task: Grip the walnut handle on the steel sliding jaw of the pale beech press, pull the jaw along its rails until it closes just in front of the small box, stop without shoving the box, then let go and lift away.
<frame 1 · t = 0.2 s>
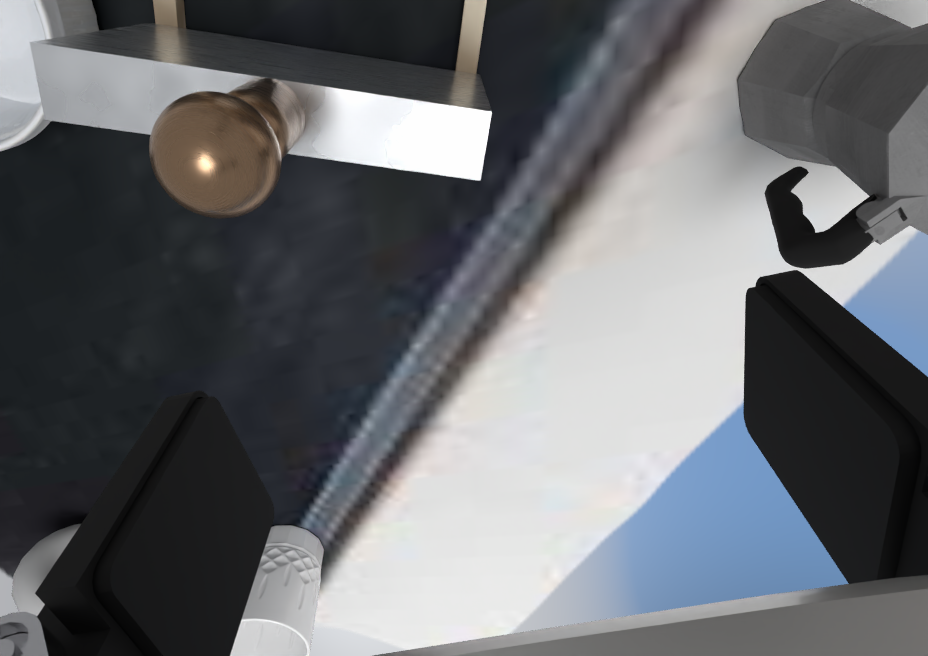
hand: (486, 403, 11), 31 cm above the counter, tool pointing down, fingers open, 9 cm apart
light grey round disc: (113, 525, 56), on the counter
white cup: (289, 546, 58), on the counter
sliding jaw: (276, 110, 26), point 11 cm above the counter, slide at 0.0 cm
coffeepot: (791, 93, 38), on the counter
ramekin: (2, 9, 34), on the counter
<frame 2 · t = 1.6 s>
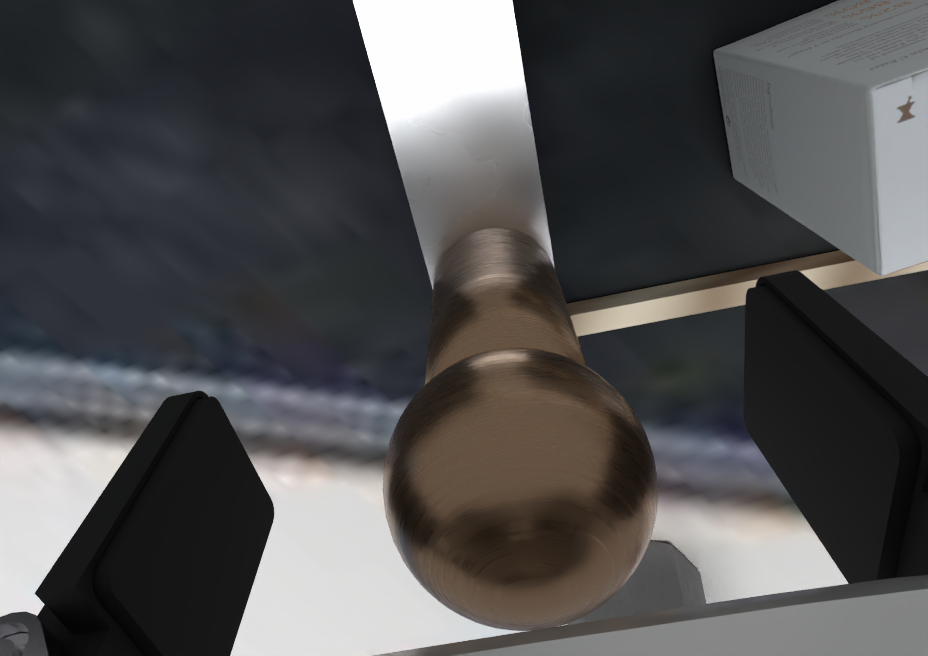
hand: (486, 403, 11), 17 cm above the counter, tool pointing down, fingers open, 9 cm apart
small box: (817, 78, 24), resting in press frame
sliding jaw: (492, 266, 16), point 11 cm above the counter, slide at 0.0 cm
coffeepot: (613, 576, 40), on the counter
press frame: (718, 102, 25), on the counter
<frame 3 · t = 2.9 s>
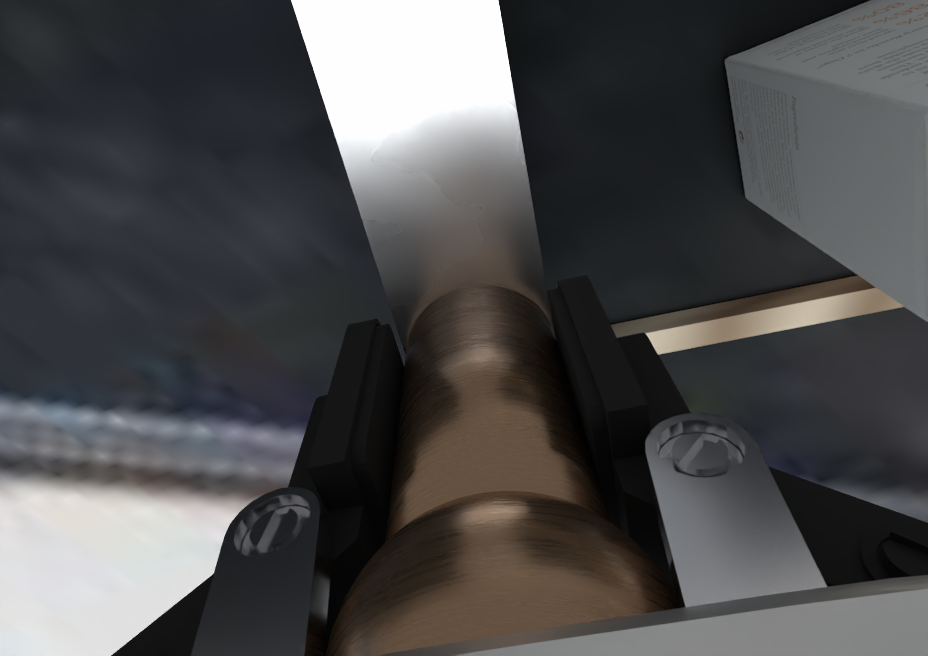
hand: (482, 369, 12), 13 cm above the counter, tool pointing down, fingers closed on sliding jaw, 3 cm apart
small box: (838, 89, 22), resting in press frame
sliding jaw: (478, 322, 13), point 11 cm above the counter, slide at 0.0 cm, touching gripper
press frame: (730, 115, 22), on the counter
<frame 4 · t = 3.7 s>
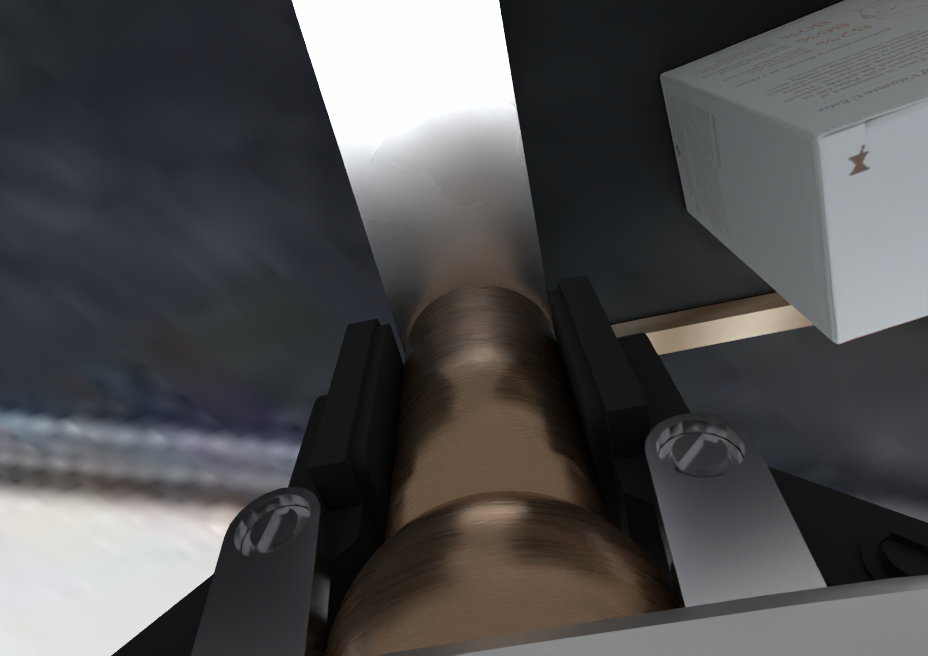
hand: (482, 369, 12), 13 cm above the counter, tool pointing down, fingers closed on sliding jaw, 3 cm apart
small box: (775, 104, 22), resting in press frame
sliding jaw: (478, 322, 13), point 11 cm above the counter, slide at 2.3 cm, touching gripper
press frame: (668, 130, 22), on the counter
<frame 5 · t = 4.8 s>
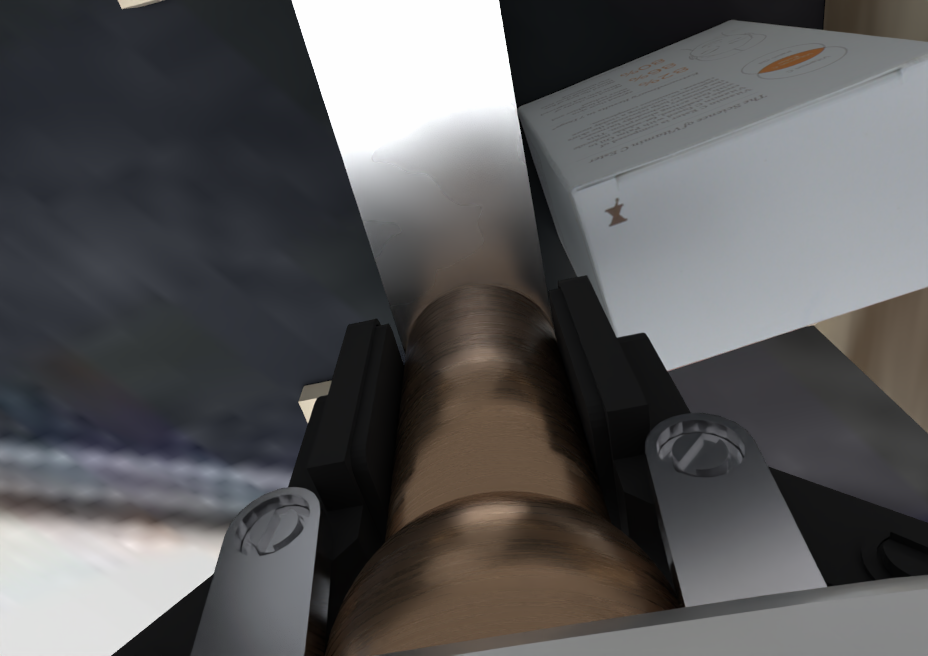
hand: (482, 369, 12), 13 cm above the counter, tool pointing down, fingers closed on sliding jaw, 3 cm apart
small box: (637, 135, 23), resting in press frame
sliding jaw: (478, 322, 13), point 11 cm above the counter, slide at 7.4 cm, touching gripper
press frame: (533, 160, 23), on the counter
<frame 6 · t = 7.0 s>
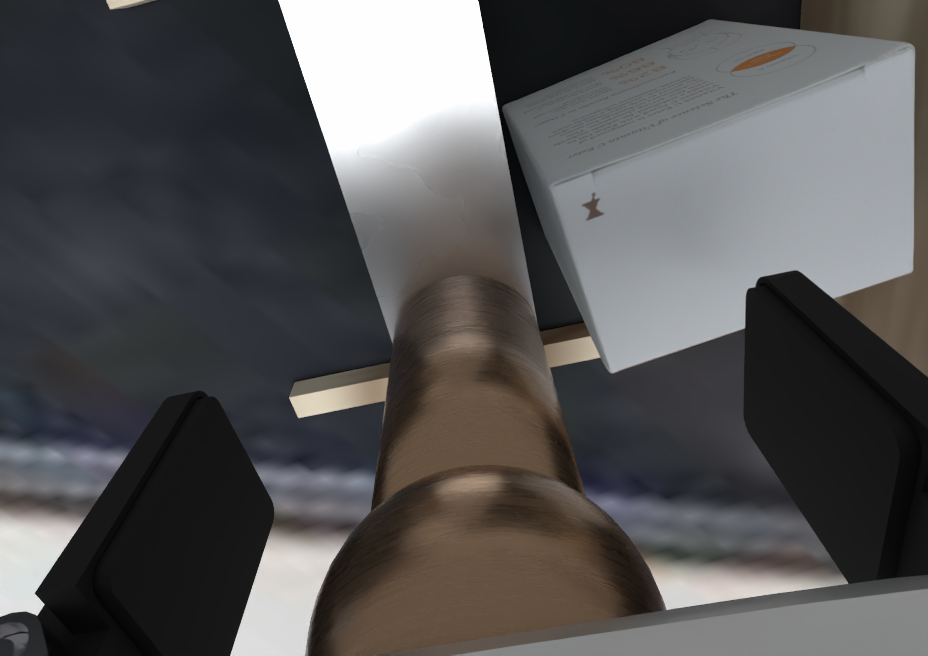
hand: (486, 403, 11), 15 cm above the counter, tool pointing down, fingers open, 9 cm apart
small box: (620, 132, 23), resting in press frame
sliding jaw: (464, 313, 13), point 11 cm above the counter, slide at 7.5 cm
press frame: (518, 157, 23), on the counter
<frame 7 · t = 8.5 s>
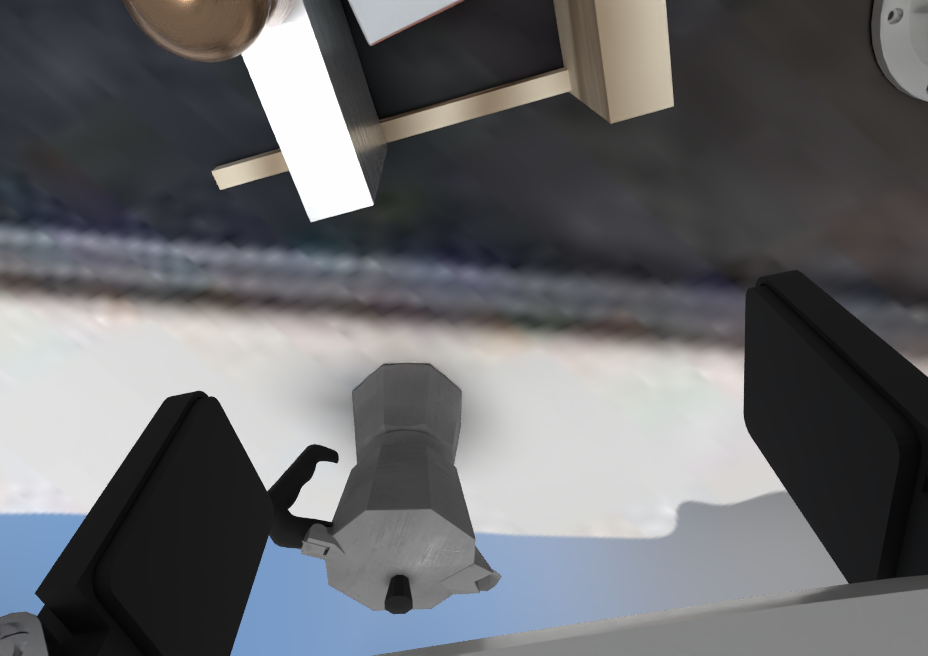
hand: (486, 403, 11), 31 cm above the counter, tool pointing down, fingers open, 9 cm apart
coffeepot: (395, 402, 48), on the counter
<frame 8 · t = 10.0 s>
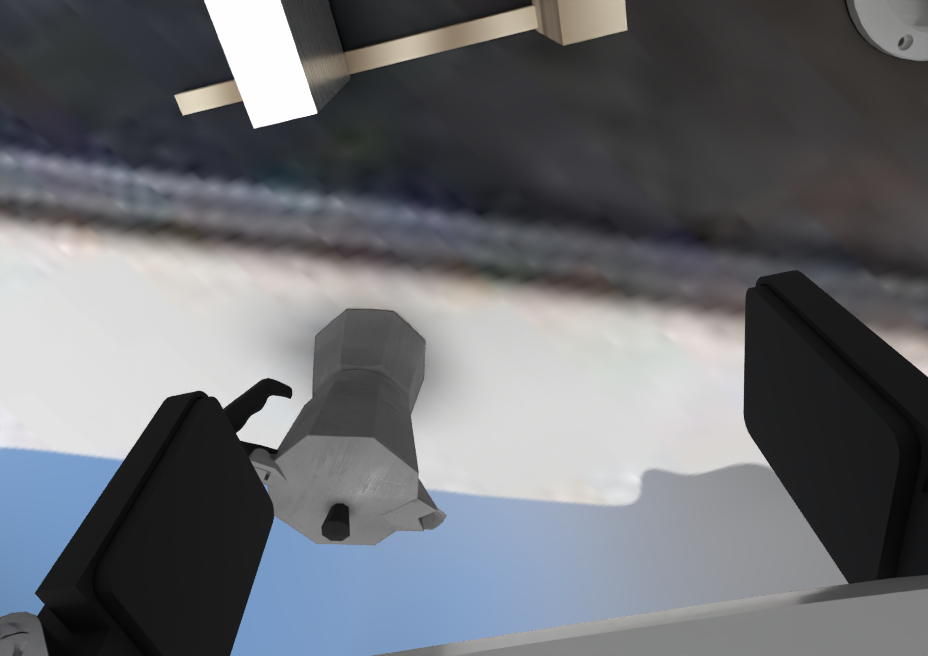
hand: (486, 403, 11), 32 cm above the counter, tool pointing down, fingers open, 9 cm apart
coffeepot: (358, 349, 48), on the counter
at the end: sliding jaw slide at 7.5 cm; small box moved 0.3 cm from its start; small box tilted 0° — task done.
